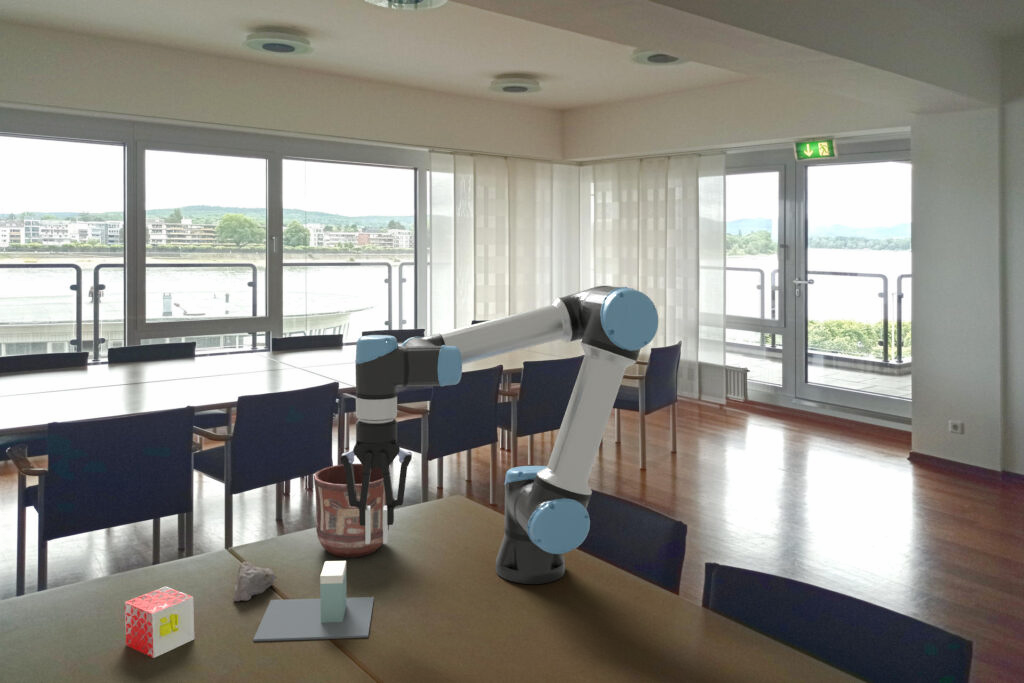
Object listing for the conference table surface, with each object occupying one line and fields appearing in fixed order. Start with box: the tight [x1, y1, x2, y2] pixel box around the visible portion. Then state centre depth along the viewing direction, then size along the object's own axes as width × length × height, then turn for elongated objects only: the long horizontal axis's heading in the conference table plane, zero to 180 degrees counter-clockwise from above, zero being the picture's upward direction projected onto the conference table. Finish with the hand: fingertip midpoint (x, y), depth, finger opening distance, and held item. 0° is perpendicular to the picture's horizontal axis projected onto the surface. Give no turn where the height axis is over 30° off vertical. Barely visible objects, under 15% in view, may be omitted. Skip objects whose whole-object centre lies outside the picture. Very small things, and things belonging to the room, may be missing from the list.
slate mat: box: [252, 596, 375, 642], centre depth 148 cm, size 20×16×1 cm
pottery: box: [313, 463, 390, 558], centre depth 183 cm, size 18×18×18 cm
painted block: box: [319, 560, 347, 623], centre depth 149 cm, size 4×7×9 cm, turn 6°
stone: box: [232, 561, 277, 602], centre depth 159 cm, size 10×8×6 cm
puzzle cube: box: [124, 586, 195, 659], centre depth 138 cm, size 8×8×8 cm
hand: (376, 541), depth 149 cm, fingers open, 3 cm apart
